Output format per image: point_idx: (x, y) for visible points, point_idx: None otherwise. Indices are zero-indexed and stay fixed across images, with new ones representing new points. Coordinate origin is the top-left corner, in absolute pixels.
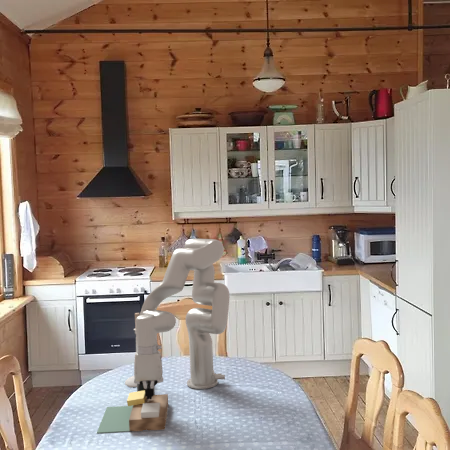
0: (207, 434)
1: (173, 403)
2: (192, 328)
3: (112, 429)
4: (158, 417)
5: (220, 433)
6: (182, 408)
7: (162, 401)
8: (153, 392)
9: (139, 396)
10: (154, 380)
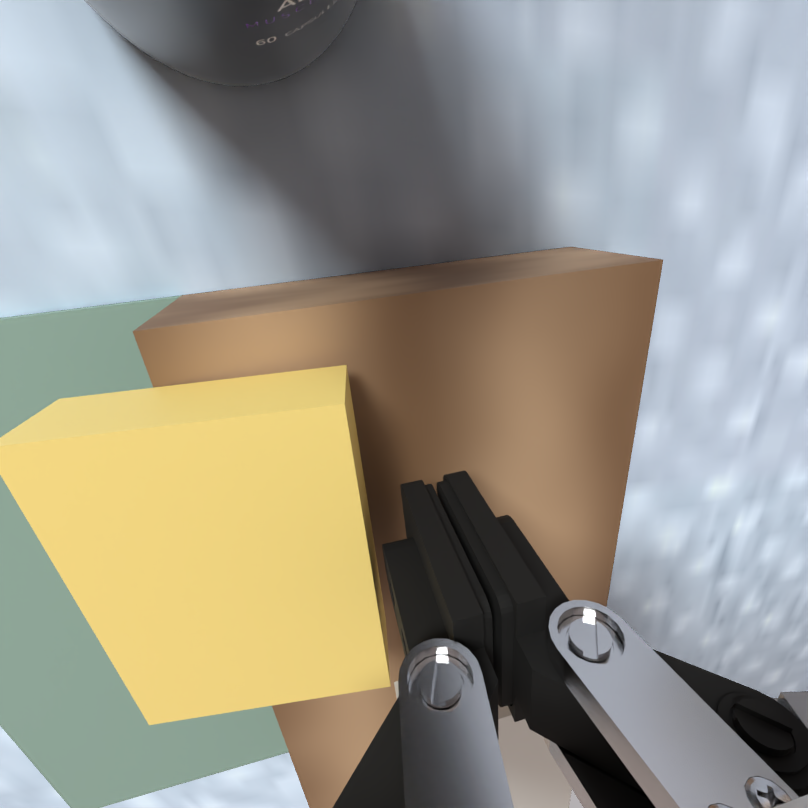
0: (737, 666)
1: (624, 213)
2: None
3: (180, 760)
4: None
5: (792, 647)
6: (687, 351)
7: (578, 503)
8: (523, 546)
9: (305, 631)
10: (729, 768)
